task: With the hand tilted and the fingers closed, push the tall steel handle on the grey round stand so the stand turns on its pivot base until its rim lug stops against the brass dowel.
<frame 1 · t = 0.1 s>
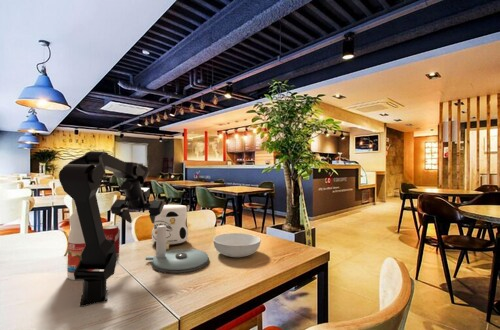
hand: (142, 222, 103), 15 cm above the table, tool tilted 35°, fingers open, 9 cm apart
fruit juice: (83, 275, 88), on the table
serving bowl: (236, 254, 113), on the table
grey round stand: (179, 243, 101), point 8 cm above the table, hinge at 0.0°
soda can: (110, 255, 107), on the table
milk container: (170, 243, 126), on the table
pivot base: (181, 262, 101), on the table
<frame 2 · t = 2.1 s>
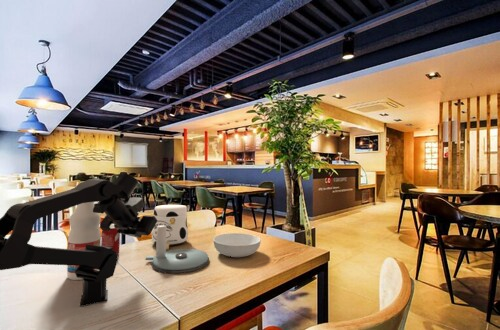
hand: (140, 236, 89), 13 cm above the table, tool tilted 45°, fingers closed
nothing on the table moved.
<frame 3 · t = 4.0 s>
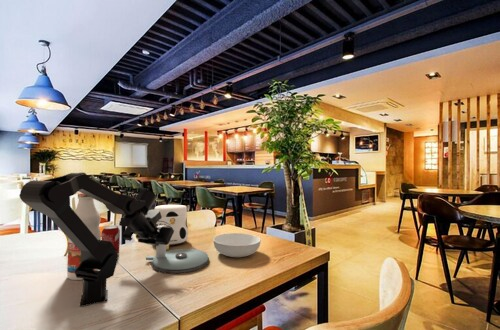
hand: (157, 244, 99), 7 cm above the table, tool tilted 45°, fingers closed, pressing on grey round stand
grey round stand: (179, 243, 101), point 8 cm above the table, hinge at 0.3°, touching gripper
everything else where it was.
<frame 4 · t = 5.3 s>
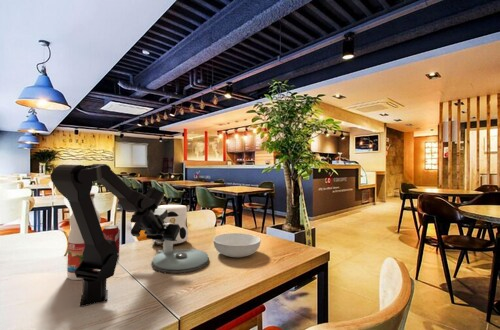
hand: (163, 241, 104), 7 cm above the table, tool tilted 45°, fingers closed
grey round stand: (179, 242, 101), point 8 cm above the table, hinge at 36.0°, touching gripper, pivot base
everything else where it was.
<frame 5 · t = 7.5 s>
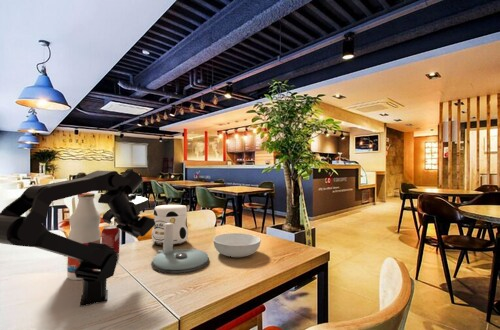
hand: (137, 236, 90), 13 cm above the table, tool tilted 35°, fingers closed
grey round stand: (179, 242, 101), point 8 cm above the table, hinge at 36.0°, touching pivot base
everything else where it was.
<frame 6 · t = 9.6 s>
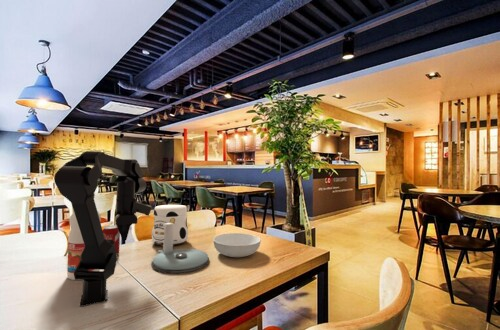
hand: (124, 240, 88), 12 cm above the table, tool pointing down, fingers closed
nothing on the table moved.
at the end: grey round stand at +36° (first picture: +0°) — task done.
